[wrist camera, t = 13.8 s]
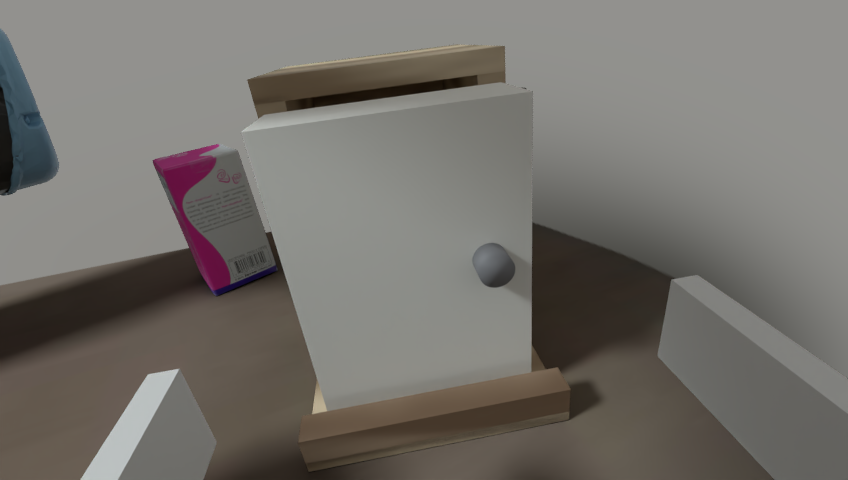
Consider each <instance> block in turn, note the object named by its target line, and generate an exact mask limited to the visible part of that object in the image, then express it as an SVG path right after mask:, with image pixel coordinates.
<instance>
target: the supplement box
mask: <svg viewBox="0 0 848 480" xmlns="http://www.w3.org/2000/svg"><path fill="white" fill-rule="evenodd" d="M153 164H154V166H155V169H156V171H157V173H158V176H159V178H160V181H161V183H162V185H163V188H164V190H165V192H166V194H167V197H168V199H169V201H170V204H171V206H172V209H173V211H174V213H175V215H176V218H177V220H178V222H179V225H180V227H181V229H182V231H183V234H184V236H185V239H186V241H187V243H188V246H189V248H190V250H191V253H192V255H193V257H194V260H195V262H196V264H197V267H198V269H199V271H200V273H201V275H202V277H203V278H204V280H205V281H206V283H207V285H208V286H209V288H210V289H211V291H212V292H213V293H214V295H215V296H218V295H220V294H223V293H225V292H227V291H230V290H232V289H234V288H237V287H239V286H241V285H244V284H246V283H248V282H251V281H253V280H256V279H258V278H260V277H263V276H265V275H268V274H270V273H273V272H275V271H277V266H276V263H275V260H274V257H273V254H272V251H271V248H270V245H269V242H268V239H267V236H266V233H265V230H264V227H263V224H262V221H261V218H260V215H259V212H258V209H257V207H256V203H255V201H254V197H253V195H252V192H251V189H250V186H249V183H248V180H247V177H246V174H245V171H244V168H243V165H242V162H241V159H240V156H239V153H238V151H237V150H236V149H232V148H229V147H226V146H224V145H222V144H216V145H212V146H208V147H204V148H200V149H195V150H191V151H187V152H183V153H179V154H175V155H171V156H167V157H163V158H159V159H155V160H153Z"/></svg>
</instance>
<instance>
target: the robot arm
mask: <svg viewBox="0 0 848 480" xmlns="http://www.w3.org/2000/svg"><path fill="white" fill-rule="evenodd" d="M58 169H59V162H58V158H57V155H56V152H55V149H54V147H53V144H52V142H51V139H50V136H49V134H48V131H47V129H46V127H45V125H44V122H43V120H42V118H41V116H40V112H39V110H38V107H37V105H36V102H35V99H34V96H33V94H32V92H31V89H30V87H29V84H28V82H27V79H26V77H25V75H24V72H23V70H22V68H21V65H20V63H19V61H18V59H17V56H16V54H15V52H14V50H13V47H12V45H11V43H10V41H9V39H8V37H7V35H6V34H5V33H4V32H3V30H1V29H0V195H10V194H13V193H15V192H16V191H17V190H19V189H23V188H26V187H30V186H34V185H37V184H41V183H44V182H47V181H49V180H50V179H52V178H53V177H54V176H55V175H56V174H57V172H58ZM658 357H659V358H660V359H661V360H662V362H663V363H664V364H665V365H666V366H667V367H668V368H669V369H670V370H671V371H672V372H673V373H674V374H675V375H676V376H677V377H678V378H679V379H680V381H681V382H682V383H683V384H684V385H685V386H686V387H687V388H688V389H689V390H690V391H691V392H692V393H693V394H694V395H695V396H696V397H697V398H698V400H699V401H700V402H701V403H702V404H703V405H704V406H705V407H706V408H707V409H708V410H709V411H710V412H711V413H712V414H713V415H714V416H715V417H716V419H717V420H718V421H719V422H720V423H721V424H722V425H723V426H724V427H725V428H726V429H727V430H728V431H729V432H730V433H731V434H732V435H733V436H734V438H735V439H736V440H737V441H738V442H739V443H740V444H741V445H742V446H743V447H744V448H745V449H746V450H747V451H748V452H749V453H750V454H751V455H752V457H753V458H754V459H755V460H756V461H757V462H758V463H759V464H760V465H761V466H762V467H763V468H764V469H765V470H766V471H767V472H768V473H769V474H770V475H771V477H772V478H773V479H774V480H848V378H847V377H845V376H844V375H842V374H841V373H839V372H838V371H836V370H835V369H833V368H832V367H831V366H829V365H828V364H826V363H825V362H823V361H822V360H820V359H819V358H818V357H816V356H815V355H813V354H812V353H810V352H809V351H807V350H806V349H805V348H803V347H802V346H800V345H799V344H797V343H796V342H794V341H793V340H791V339H790V338H789V337H787V336H785V335H784V334H783V333H781V332H780V331H778V330H777V329H776V328H774V327H772V326H771V325H770V324H768V323H767V322H765V321H764V320H762V319H761V318H760V317H758V316H757V315H755V314H754V313H752V312H751V311H749V310H748V309H746V308H745V307H743V306H742V305H740V304H739V303H738V302H736V301H735V300H733V299H732V298H730V297H729V296H727V295H726V294H725V293H723V292H722V291H720V290H719V289H717V288H716V287H714V286H713V285H712V284H710V283H709V282H707V281H706V280H704V279H703V278H701V277H700V276H698V275H694V276H688V277H683V278H677V279H672V280H671V284H670V290H669V295H668V301H667V306H666V312H665V317H664V323H663V328H662V334H661V339H660V345H659V350H658ZM216 443H217V442H216V440H215V438H214V436H213V434H212V432H211V430H210V428H209V426H208V424H207V422H206V420H205V418H204V416H203V414H202V412H201V410H200V408H199V406H198V404H197V402H196V400H195V398H194V396H193V394H192V392H191V390H190V388H189V386H188V384H187V383H186V381H185V379H184V377H183V375H182V373H181V371H180V369H175V370H170V371H164V372H159V373H153V374H148V375H147V377H146V378H145V380H144V381H143V383H142V385H141V386H140V388H139V389H138V391H137V392H136V394H135V395H134V397H133V399H132V400H131V402H130V403H129V405H128V406H127V408H126V410H125V411H124V413H123V414H122V416H121V417H120V419H119V420H118V422H117V424H116V425H115V427H114V428H113V430H112V431H111V433H110V434H109V436H108V438H107V439H106V441H105V442H104V444H103V445H102V447H101V449H100V450H99V452H98V453H97V455H96V456H95V458H94V459H93V461H92V463H91V464H90V466H89V467H88V469H87V470H86V472H85V473H84V475H83V477H82V478H81V480H203V479H204V476H205V474H206V471H207V468H208V465H209V463H210V460H211V457H212V454H213V451H214V449H215V446H216Z"/></svg>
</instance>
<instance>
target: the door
mask: <svg viewBox="0 0 848 480" xmlns="http://www.w3.org/2000/svg"><path fill="white" fill-rule="evenodd" d="M241 135H242V138H243V141H244V145H245V148H246V151H247V154H248V158H249V161H250V164H251V167H252V170H253V174H254V177H255V180H256V183H257V186H258V190H259V193H260V196H261V199H262V203H263V205H264V209H265V212H266V215H267V218H268V222H269V225H270V228H271V232H272V235H273V238H274V241H275V244H276V248H277V251H278V254H279V257H280V261H281V264H282V267H283V270H284V273H285V277H286V280H287V283H288V286H289V290H290V293H291V296H292V299H293V302H294V306H295V309H296V312H297V315H298V318H299V322H300V325H301V328H302V331H303V335H304V338H305V341H306V344H307V347H308V351H309V354H310V357H311V360H312V364H313V367H314V370H315V373H316V376H317V380H318V383H319V386H320V389H321V393H322V396H323V399H324V402H325V405H326V409H327V411H331V410H336V409H342V408H347V407H352V406H357V405H362V404H368V403H373V402H378V401H383V400H389V399H394V398H399V397H404V396H410V395H415V394H420V393H425V392H431V391H436V390H441V389H446V388H452V387H457V386H462V385H467V384H473V383H478V382H483V381H488V380H494V379H499V378H504V377H509V376H515V375H520V374H525V373H530V372H531V341H532V149H533V146H532V145H533V144H532V143H533V142H532V140H533V137H532V136H533V91H530V90H527V89H523V88H520V87H516V86H513V85H509V84H506V83H502V82H498V83H491V84H484V85H477V86H469V87H462V88H455V89H447V90H440V91H433V92H426V93H418V94H411V95H404V96H397V97H389V98H382V99H375V100H367V101H360V102H353V103H346V104H338V105H331V106H324V107H316V108H309V109H302V110H295V111H287V112H280V113H273V114H266V115H263V116H262V117H260V118H259V119H258V120H256V121H255V122H254V123H253V124H251V125H250V126H248V127H247V128H246V129H244V130H243V131H242V132H241Z"/></svg>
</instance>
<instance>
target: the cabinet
mask: <svg viewBox="0 0 848 480" xmlns="http://www.w3.org/2000/svg"><path fill="white" fill-rule="evenodd" d="M498 82H502V83H505V46H487V45H486V46H485V45H449V46H442V47H434V48H427V49H419V50H411V51H404V52H396V53H388V54H380V55H372V56H365V57H357V58H349V59H342V60H334V61H326V62H318V63H311V64H303V65H296V66H288V67H284V68H281V69H278V70H275V71H272V72H269V73H266V74H263V75H260V76H257V77H254V78H251V79H248V84H249V87H250V91H251V94H252V98H253V101H254V105H255V108H256V112H257V115H258V119H259V118H260V117H262V116H263V115H266V114H273V113H280V112H287V111H295V110H302V109H309V108H316V107H324V106H331V105H338V104H346V103H353V102H360V101H367V100H375V99H382V98H389V97H397V96H404V95H411V94H418V93H426V92H433V91H440V90H447V89H455V88H462V87H469V86H477V85H484V84H491V83H498ZM523 89H526V88H523ZM570 395H571V389H570V387H569V386H568V384H567V382H566V381H565V379H564V377H563V376H562V374H561V372H560V371H559V369H558V367H556V368H551V369H545V367H544V365H543V364H542V362H541V360H540V358H539V356H538V355H537V353H536V351H535V349H534V348H533V346H532V344H531V372H530V373H525V374H520V375H515V376H509V377H504V378H499V379H494V380H488V381H483V382H478V383H473V384H467V385H462V386H457V387H452V388H446V389H441V390H436V391H431V392H425V393H420V394H415V395H410V396H404V397H399V398H394V399H389V400H383V401H378V402H373V403H368V404H362V405H357V406H352V407H347V408H342V409H336V410H331V411H327V409H326V405H325V402H324V399H323V396H322V393H321V389H320V386H319V383H318V380H317V383H316V390H315V398H314V405H313V413H312V414H310V415H305V416H302V419H301V426H300V432H299V438H298V445H299V447H300V450H301V453H302V455H303V458H304V461H305V463H306V466H307V469H308V471H309V472H311V471H316V470H321V469H326V468H331V467H336V466H341V465H346V464H351V463H356V462H361V461H366V460H371V459H376V458H381V457H386V456H391V455H396V454H401V453H406V452H411V451H416V450H421V449H426V448H431V447H436V446H441V445H446V444H451V443H456V442H461V441H466V440H471V439H476V438H481V437H486V436H491V435H496V434H501V433H506V432H511V431H516V430H521V429H526V428H531V427H536V426H541V425H546V424H550V423H555V422H560V421H565V420H569V410H570Z"/></svg>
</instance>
